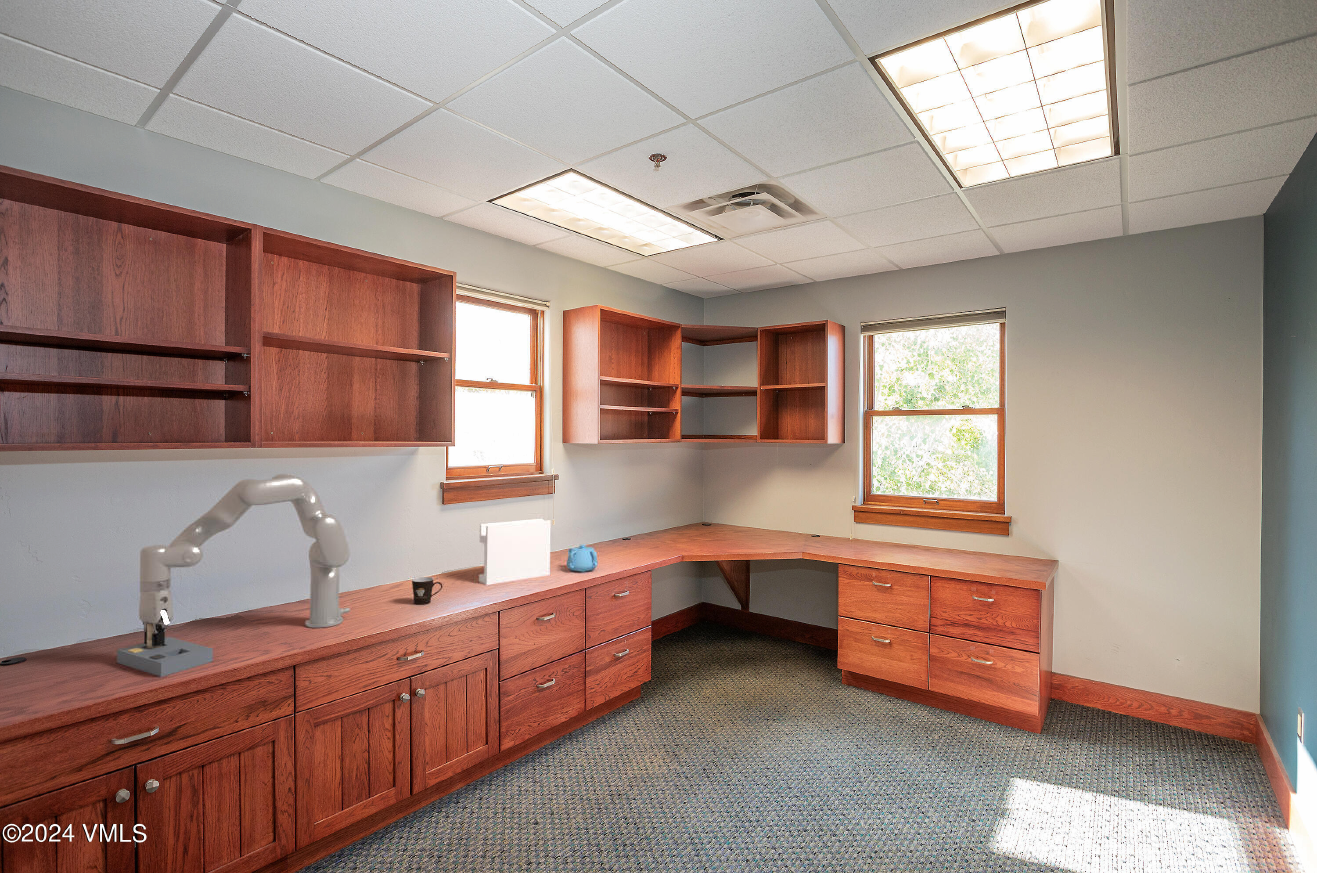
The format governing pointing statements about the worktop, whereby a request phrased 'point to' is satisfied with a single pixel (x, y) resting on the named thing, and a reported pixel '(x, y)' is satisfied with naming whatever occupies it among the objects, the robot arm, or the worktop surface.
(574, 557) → the decorative pot
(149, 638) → the plug
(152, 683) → the worktop surface
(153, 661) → the socket block
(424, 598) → the coffee mug
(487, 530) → the block
